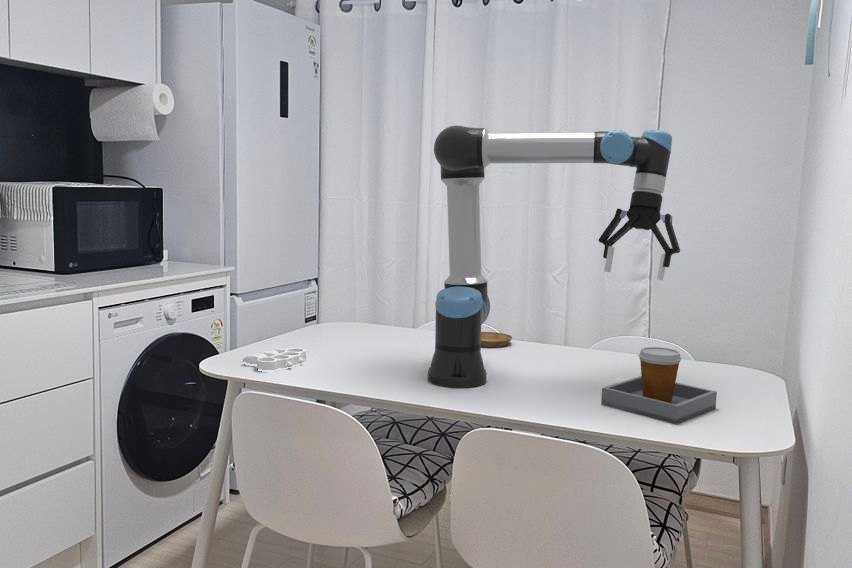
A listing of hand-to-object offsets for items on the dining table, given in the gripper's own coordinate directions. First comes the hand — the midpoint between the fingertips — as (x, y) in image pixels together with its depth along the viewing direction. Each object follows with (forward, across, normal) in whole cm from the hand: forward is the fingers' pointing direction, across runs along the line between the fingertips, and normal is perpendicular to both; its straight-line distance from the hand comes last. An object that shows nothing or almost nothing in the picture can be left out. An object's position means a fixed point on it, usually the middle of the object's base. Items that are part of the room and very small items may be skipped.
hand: (633, 276), depth 195 cm
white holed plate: (+40, +83, +32) cm, 98 cm away
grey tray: (+29, -14, +11) cm, 35 cm away
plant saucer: (+27, +50, -26) cm, 62 cm away
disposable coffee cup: (+29, -14, +11) cm, 34 cm away
